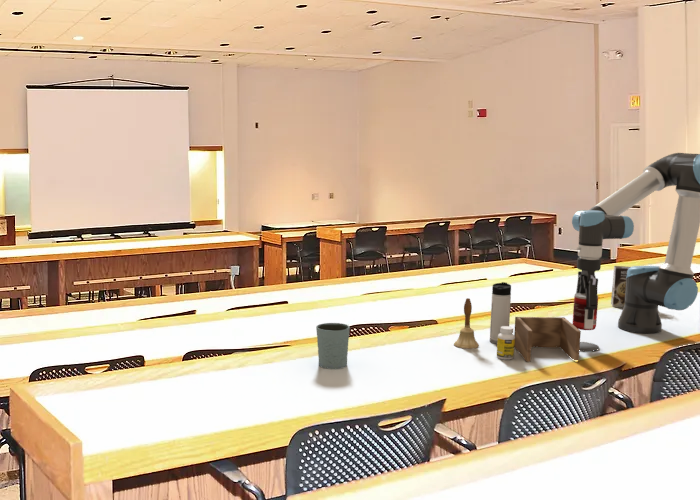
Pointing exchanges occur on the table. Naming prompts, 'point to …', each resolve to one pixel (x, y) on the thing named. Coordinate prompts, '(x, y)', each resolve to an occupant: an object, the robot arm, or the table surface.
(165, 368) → the table surface
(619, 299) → the coffee box
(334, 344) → the grey-green cup
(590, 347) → the slate coaster
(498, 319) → the travel mug
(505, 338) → the supplement bottle
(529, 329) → the walnut u-shaped bracket
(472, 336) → the hand bell
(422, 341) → the table surface
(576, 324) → the canned food
